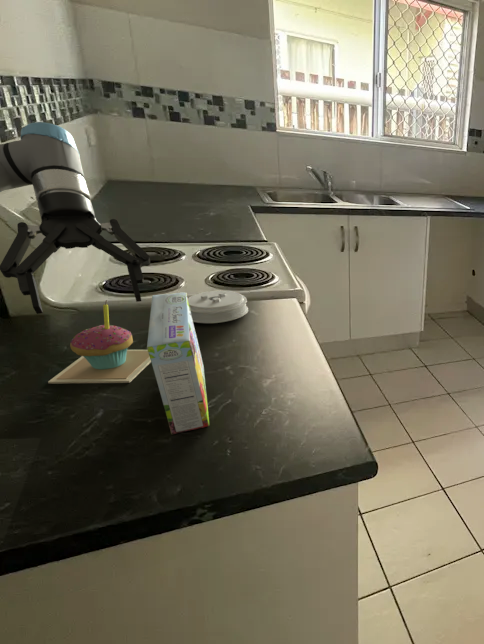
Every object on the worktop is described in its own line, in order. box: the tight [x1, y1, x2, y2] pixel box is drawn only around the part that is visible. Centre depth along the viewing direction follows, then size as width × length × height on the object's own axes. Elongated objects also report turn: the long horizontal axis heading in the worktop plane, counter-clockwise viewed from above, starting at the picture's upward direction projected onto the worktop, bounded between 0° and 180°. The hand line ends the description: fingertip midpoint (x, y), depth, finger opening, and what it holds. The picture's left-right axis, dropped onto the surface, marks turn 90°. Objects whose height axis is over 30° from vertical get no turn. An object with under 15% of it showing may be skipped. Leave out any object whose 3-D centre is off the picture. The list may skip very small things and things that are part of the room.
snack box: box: [146, 291, 210, 436], centre depth 76 cm, size 21×6×15 cm, turn 33°
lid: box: [187, 289, 249, 324], centre depth 108 cm, size 13×13×5 cm
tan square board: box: [47, 349, 152, 385], centre depth 86 cm, size 12×12×1 cm
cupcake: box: [69, 299, 134, 369], centre depth 83 cm, size 9×8×12 cm
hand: (90, 304), depth 84 cm, fingers open, 13 cm apart
